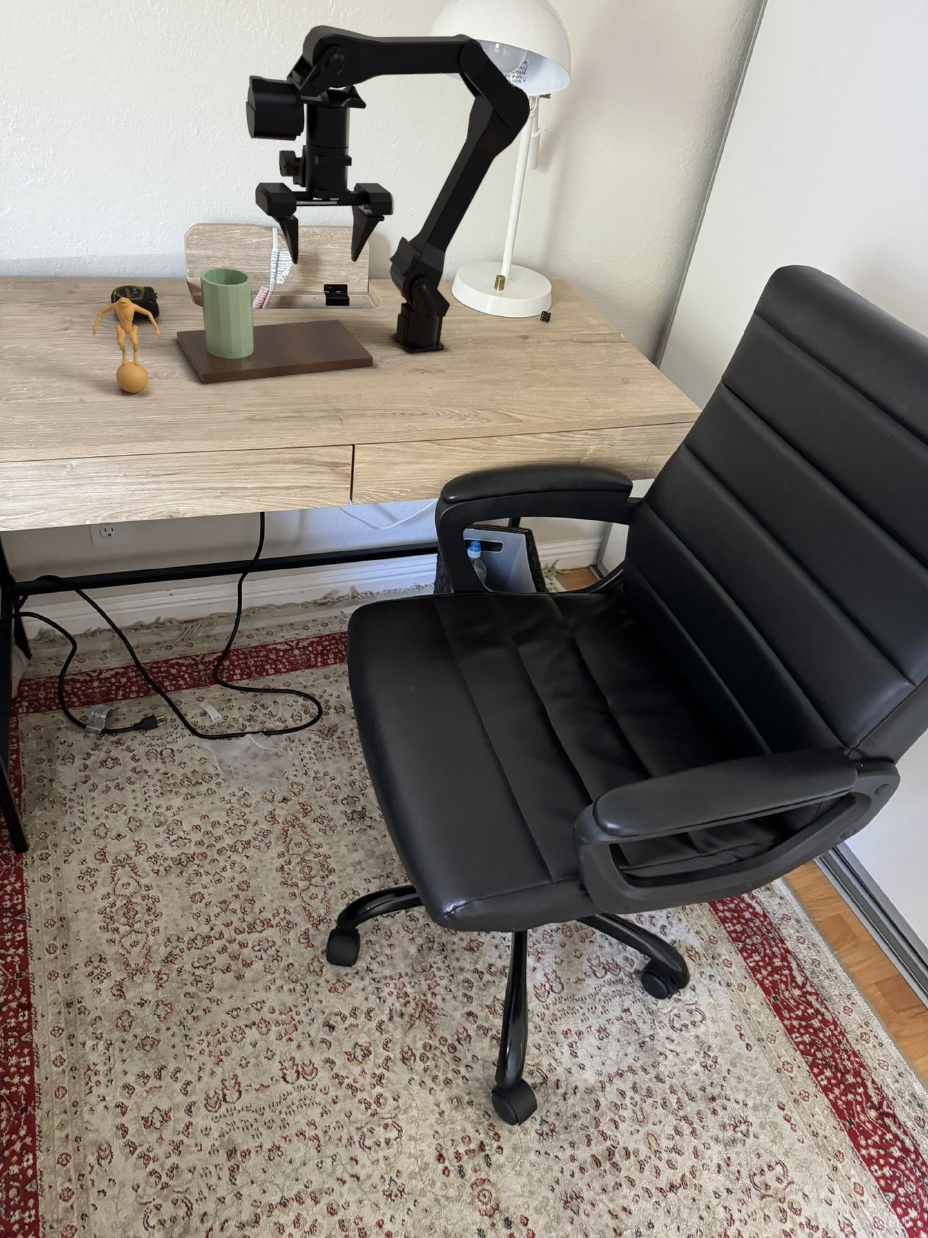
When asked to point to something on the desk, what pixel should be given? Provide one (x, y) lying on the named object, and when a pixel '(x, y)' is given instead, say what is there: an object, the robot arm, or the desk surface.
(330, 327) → the walnut board
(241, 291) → the pencil cup
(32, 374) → the desk surface
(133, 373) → the figurine
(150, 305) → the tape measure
